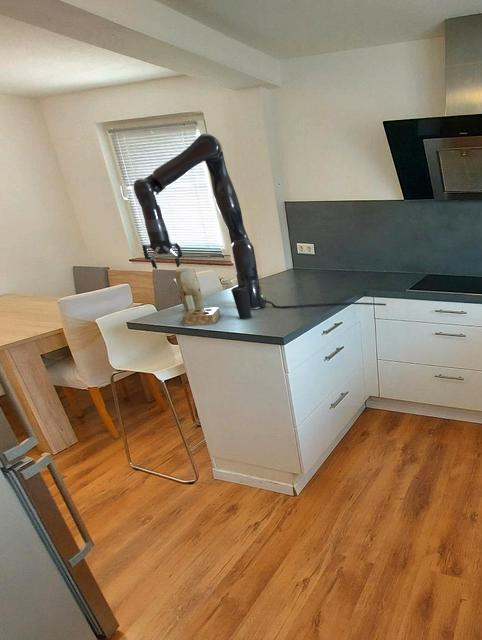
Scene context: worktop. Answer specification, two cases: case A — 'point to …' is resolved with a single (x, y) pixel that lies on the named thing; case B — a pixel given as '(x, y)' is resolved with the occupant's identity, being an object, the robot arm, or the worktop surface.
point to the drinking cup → (242, 300)
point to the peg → (190, 302)
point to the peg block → (201, 316)
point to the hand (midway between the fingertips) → (167, 267)
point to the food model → (189, 287)
